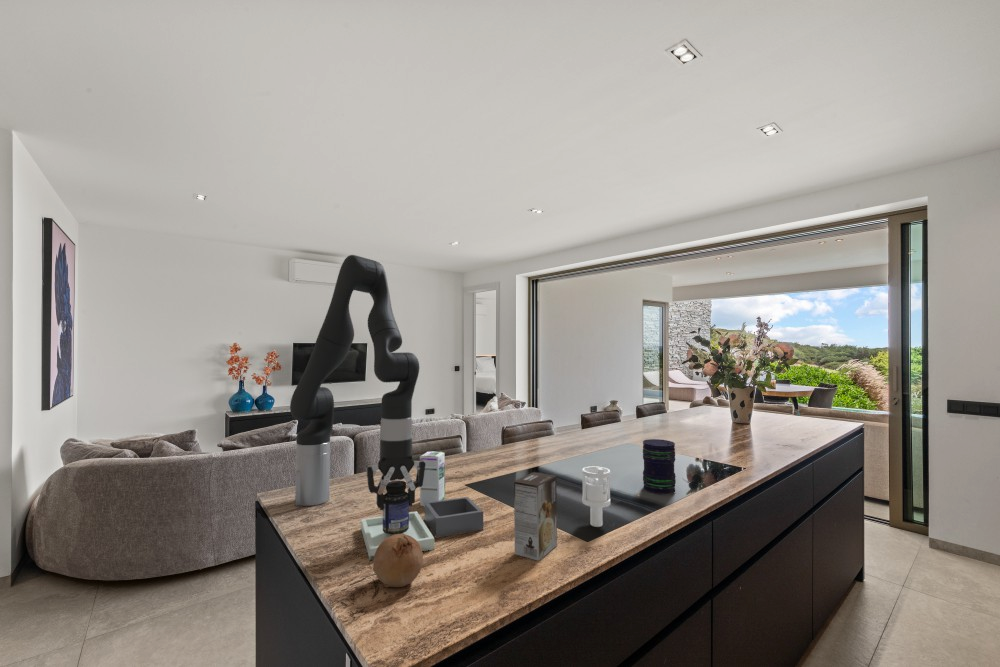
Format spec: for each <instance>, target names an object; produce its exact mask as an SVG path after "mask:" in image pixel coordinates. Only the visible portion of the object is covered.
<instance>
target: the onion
mask: <svg viewBox="0 0 1000 667" xmlns="http://www.w3.org/2000/svg"><path fill="white" fill-rule="evenodd" d="M423 553H424V552H422V549H421V546H420V545H419V543H418V542H417V541H416V540H415V539H414V538H412V537H411V536H409V535H405V534H396V535H392V536H390V537H388V538H386V539H385V540H384V541H383V542H382V543H381V544H380V545H379V547H378V548H377V550H376V552H375V555H374V559H373V561H372V566H373V568H372V570H373V572H374V573H375V575H376V577H377V579H378V581H380V582H381V583H383V586H384V587H385V588H403V587H405V586H407V585H410V584H411V583H413V582H414V580H415V579H416V578H417V577H418V576H419V574H420V572H421V569H422V566H423V562H424V554H423Z"/></svg>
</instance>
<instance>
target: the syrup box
mask: <svg viewBox="0 0 1000 667" xmlns="http://www.w3.org/2000/svg"><path fill="white" fill-rule="evenodd" d="M445 459H446V456H445V452H444V451H433V450H432V451H426V452H425V453H424V454H422V455H420V456H419V460H423V461H424V462H425V472H424V479H423V485H422V487H419V499H420V500H419V505H420V506H421V507H424V506H425V502H432V501H440V500H446V473H445V472H446V466H445V465H446V464H445Z"/></svg>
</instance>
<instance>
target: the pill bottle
mask: <svg viewBox="0 0 1000 667" xmlns="http://www.w3.org/2000/svg"><path fill="white" fill-rule="evenodd" d="M406 489H407V482H406V481H404V480H393V481H389V482H388V484H387V486H386V487H385V490H386V492H385V493H383V494H384V510H382V516H383V532H384V533H387V534H401V533H404V532H406V531H407V530H408V529H409V512H410V506H409V494H408V491H406Z"/></svg>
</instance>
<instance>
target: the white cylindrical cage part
mask: <svg viewBox="0 0 1000 667" xmlns="http://www.w3.org/2000/svg"><path fill="white" fill-rule="evenodd" d="M581 471H582V472H581V473H582V474H581V475H582V497H581V499H582V500H581V501H582V504H583V505H585V506H587V507H590V513H589V514H590V516H589V517H590V526H592V527H596V528H600V527H602V526H603V508H606V507H607V508H608V507H609V506H611V470H610V469H609V468H607V467H604V466H603V467H602V466H596V465H595V466H592V465H591V466H585V467H583V468H582V470H581ZM595 472H596V473H595Z"/></svg>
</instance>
